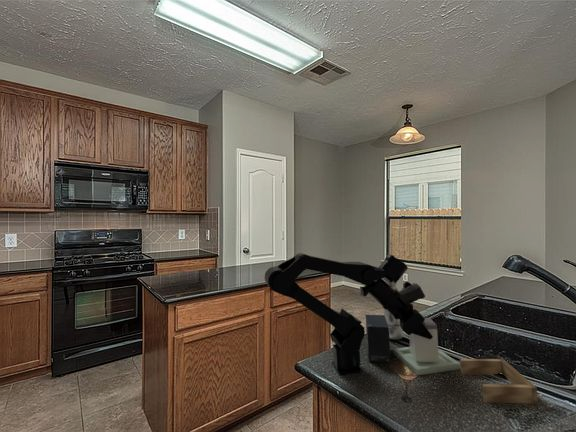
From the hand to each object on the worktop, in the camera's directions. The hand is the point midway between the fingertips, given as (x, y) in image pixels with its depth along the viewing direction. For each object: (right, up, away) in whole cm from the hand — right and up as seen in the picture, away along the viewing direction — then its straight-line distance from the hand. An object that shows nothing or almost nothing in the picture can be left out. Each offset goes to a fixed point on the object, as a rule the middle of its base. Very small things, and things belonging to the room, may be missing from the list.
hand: (427, 333), depth 85 cm
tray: (-1, -8, 0) cm, 8 cm away
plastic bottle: (-4, -8, +16) cm, 19 cm away
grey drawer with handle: (-1, -7, 0) cm, 7 cm away
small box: (-12, -9, +6) cm, 16 cm away
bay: (+9, -7, -13) cm, 18 cm away
